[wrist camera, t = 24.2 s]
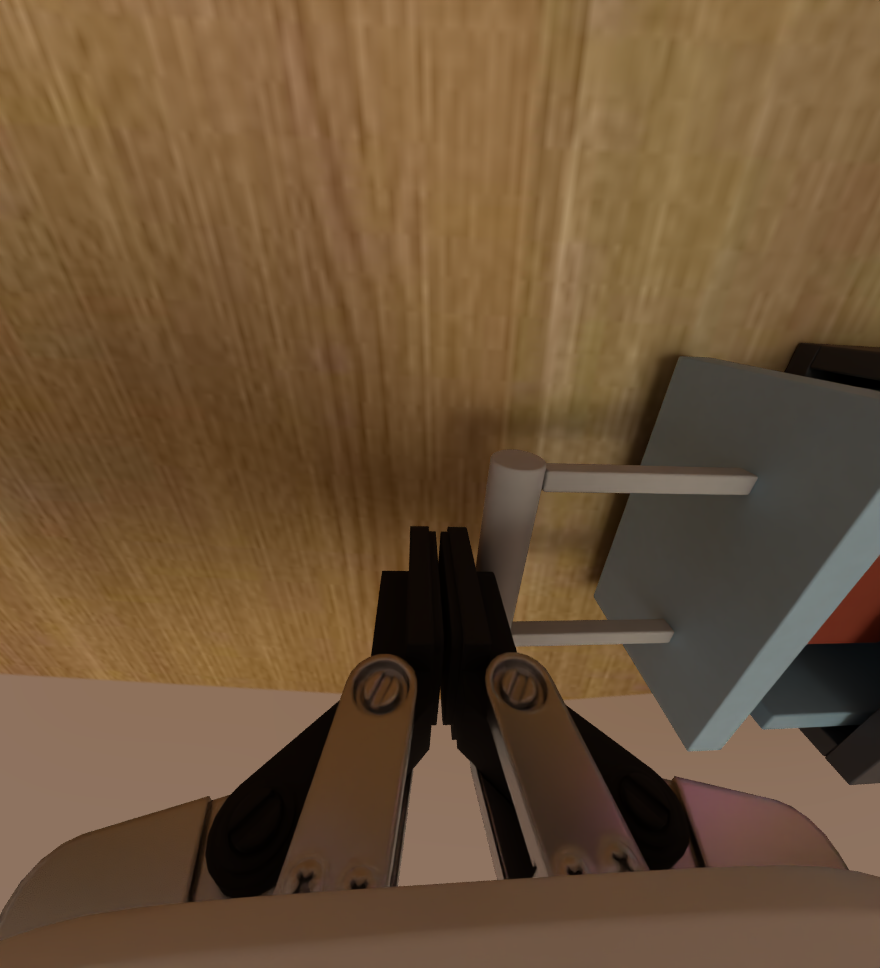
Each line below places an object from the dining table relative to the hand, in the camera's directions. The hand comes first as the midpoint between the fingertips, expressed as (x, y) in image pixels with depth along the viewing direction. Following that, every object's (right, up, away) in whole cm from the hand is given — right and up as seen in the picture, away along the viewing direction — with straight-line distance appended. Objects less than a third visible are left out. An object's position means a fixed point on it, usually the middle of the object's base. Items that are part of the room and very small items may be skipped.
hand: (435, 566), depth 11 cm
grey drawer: (+10, +2, +4) cm, 11 cm away
